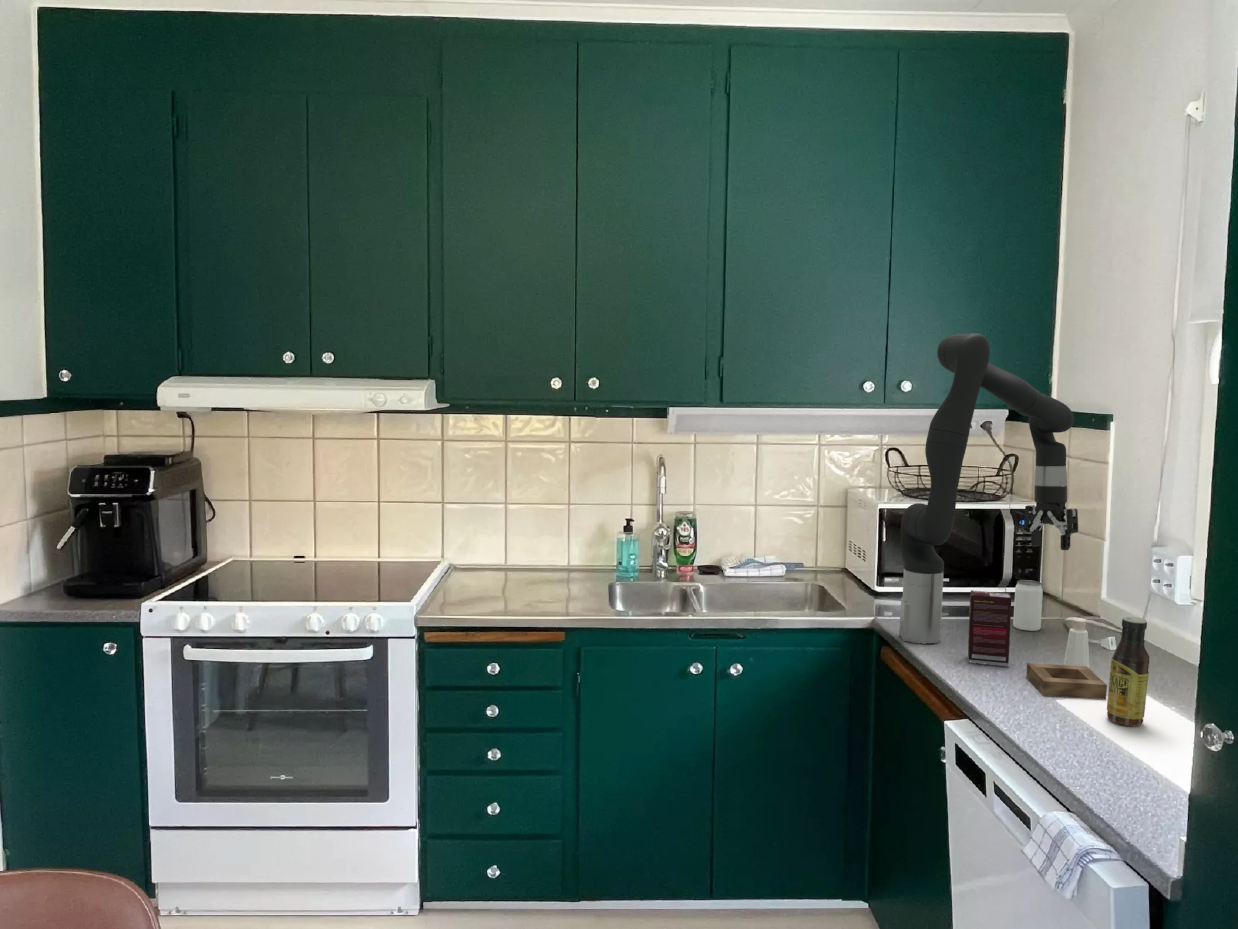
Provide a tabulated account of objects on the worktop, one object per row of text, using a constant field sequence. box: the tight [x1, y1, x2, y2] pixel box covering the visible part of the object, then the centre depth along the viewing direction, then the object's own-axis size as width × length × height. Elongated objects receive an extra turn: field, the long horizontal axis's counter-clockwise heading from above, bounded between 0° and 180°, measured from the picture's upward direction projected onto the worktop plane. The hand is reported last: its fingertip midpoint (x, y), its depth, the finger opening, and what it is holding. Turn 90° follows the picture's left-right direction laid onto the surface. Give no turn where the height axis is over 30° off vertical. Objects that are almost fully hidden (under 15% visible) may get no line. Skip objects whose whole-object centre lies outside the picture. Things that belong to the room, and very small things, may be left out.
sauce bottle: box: [1106, 616, 1150, 727], centre depth 173 cm, size 6×6×20 cm
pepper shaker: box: [1063, 617, 1091, 670], centre depth 206 cm, size 5×5×11 cm
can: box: [1012, 579, 1044, 632], centre depth 238 cm, size 6×6×12 cm
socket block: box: [1025, 662, 1108, 700], centre depth 193 cm, size 12×12×3 cm
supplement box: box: [967, 589, 1012, 668], centre depth 209 cm, size 9×5×16 cm, turn 71°
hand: (1050, 548), depth 233 cm, fingers open, 8 cm apart
